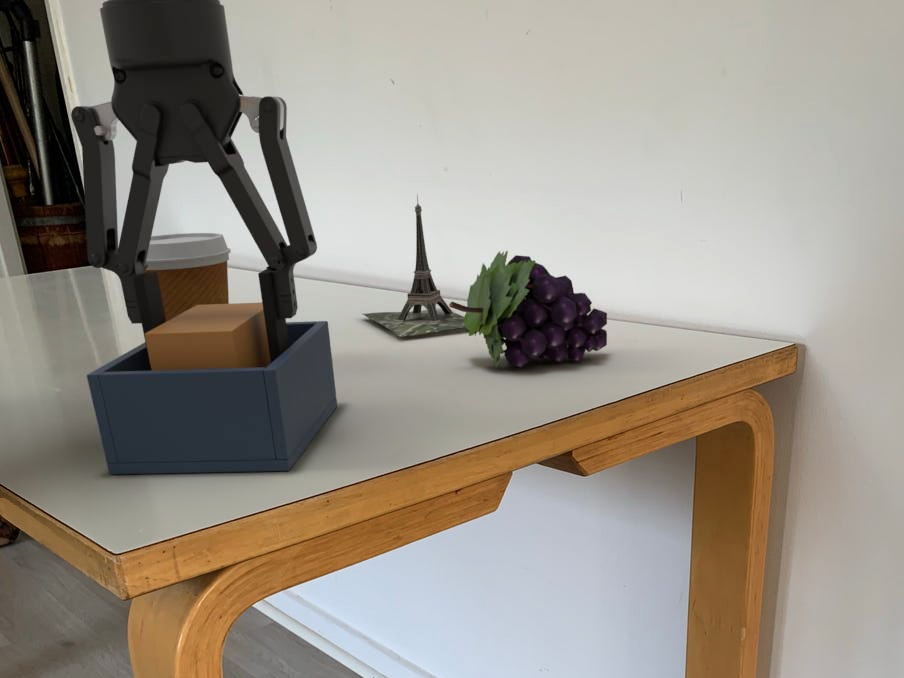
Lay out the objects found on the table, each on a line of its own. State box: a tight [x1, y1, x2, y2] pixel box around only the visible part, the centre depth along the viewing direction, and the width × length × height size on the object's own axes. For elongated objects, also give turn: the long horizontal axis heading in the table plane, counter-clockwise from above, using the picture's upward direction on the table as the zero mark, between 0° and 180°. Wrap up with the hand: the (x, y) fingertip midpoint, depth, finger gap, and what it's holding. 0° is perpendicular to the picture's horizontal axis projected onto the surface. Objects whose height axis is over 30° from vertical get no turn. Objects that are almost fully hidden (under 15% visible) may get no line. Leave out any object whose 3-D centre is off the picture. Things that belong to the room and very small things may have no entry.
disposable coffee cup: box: [143, 232, 232, 322], centre depth 92 cm, size 10×10×12 cm
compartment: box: [86, 320, 338, 475], centre depth 73 cm, size 13×17×7 cm
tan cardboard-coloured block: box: [144, 302, 271, 371], centre depth 72 cm, size 6×11×8 cm, turn 176°
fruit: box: [448, 250, 608, 369], centre depth 90 cm, size 10×11×15 cm
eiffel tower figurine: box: [362, 194, 466, 338], centre depth 108 cm, size 15×10×13 cm
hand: (222, 366), depth 72 cm, fingers open, 8 cm apart
